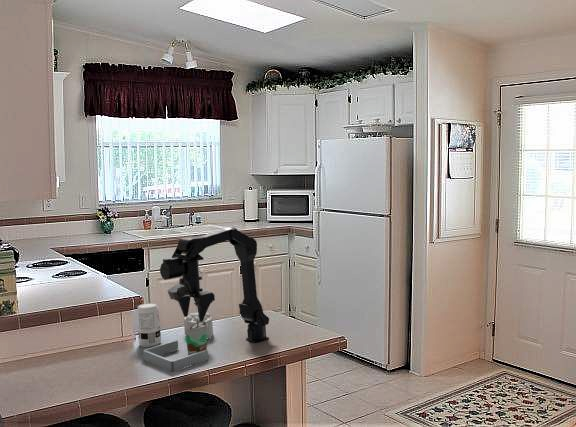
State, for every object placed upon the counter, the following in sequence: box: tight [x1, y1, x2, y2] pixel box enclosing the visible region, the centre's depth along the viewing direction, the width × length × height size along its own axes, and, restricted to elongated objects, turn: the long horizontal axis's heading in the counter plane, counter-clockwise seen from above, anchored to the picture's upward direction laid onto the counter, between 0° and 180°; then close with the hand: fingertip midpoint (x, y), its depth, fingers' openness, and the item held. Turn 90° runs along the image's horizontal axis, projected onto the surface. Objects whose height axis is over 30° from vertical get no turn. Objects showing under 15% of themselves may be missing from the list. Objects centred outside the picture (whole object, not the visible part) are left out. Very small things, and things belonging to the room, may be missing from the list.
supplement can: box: [136, 302, 162, 348], centre depth 227 cm, size 8×8×15 cm
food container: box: [184, 320, 209, 356], centre depth 215 cm, size 12×6×10 cm, turn 168°
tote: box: [141, 339, 208, 373], centre depth 208 cm, size 14×19×4 cm
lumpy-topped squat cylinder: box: [183, 311, 214, 339], centre depth 235 cm, size 10×13×9 cm
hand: (193, 318), depth 206 cm, fingers open, 9 cm apart
